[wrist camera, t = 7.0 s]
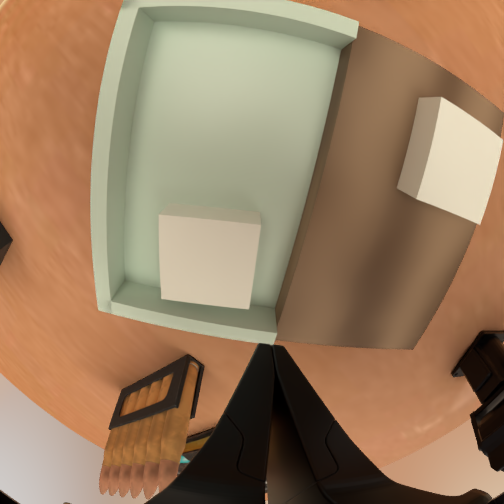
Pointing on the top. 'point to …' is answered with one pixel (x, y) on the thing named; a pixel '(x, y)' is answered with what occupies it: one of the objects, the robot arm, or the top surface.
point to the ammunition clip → (151, 429)
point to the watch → (4, 242)
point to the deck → (374, 208)
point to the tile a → (208, 254)
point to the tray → (208, 143)
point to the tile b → (450, 159)
